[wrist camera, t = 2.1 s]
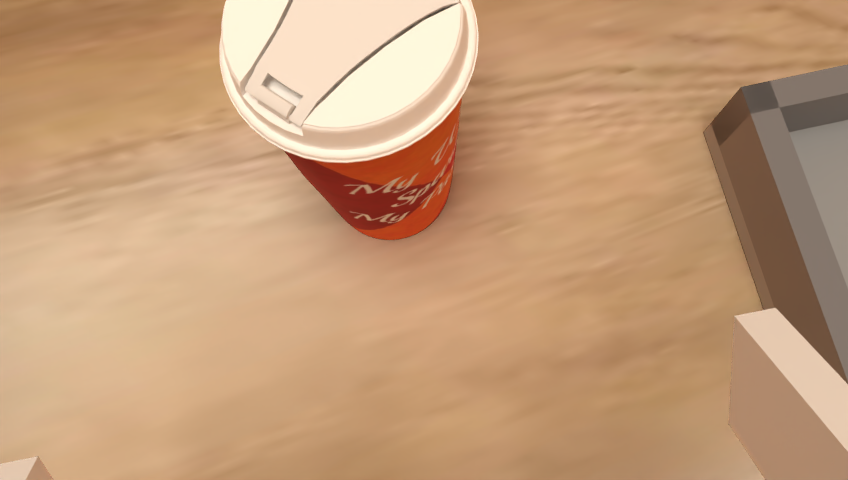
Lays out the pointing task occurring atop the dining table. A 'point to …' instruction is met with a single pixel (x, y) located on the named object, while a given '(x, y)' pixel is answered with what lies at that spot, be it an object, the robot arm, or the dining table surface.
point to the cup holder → (792, 198)
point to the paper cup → (357, 98)
